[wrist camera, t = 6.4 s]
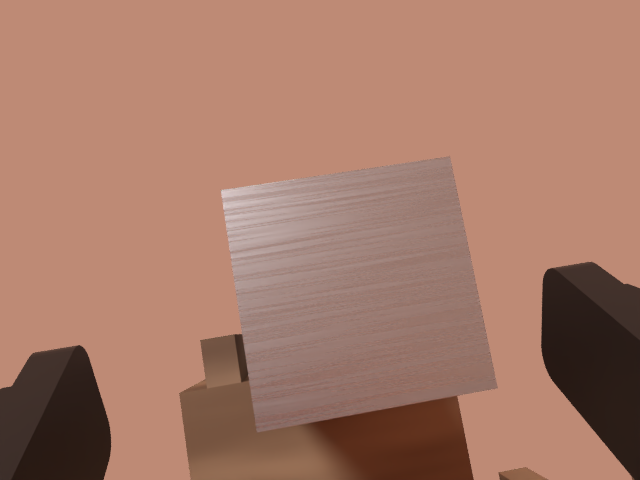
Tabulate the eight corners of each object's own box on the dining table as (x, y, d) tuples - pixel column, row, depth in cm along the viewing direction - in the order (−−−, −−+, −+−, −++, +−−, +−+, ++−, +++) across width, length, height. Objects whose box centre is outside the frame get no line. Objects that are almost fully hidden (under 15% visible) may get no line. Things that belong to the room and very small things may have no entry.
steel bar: (497, 388, 8) (449, 156, 8) (256, 432, 8) (220, 190, 8) (335, 348, 32) (324, 287, 32) (274, 358, 31) (264, 297, 32)
